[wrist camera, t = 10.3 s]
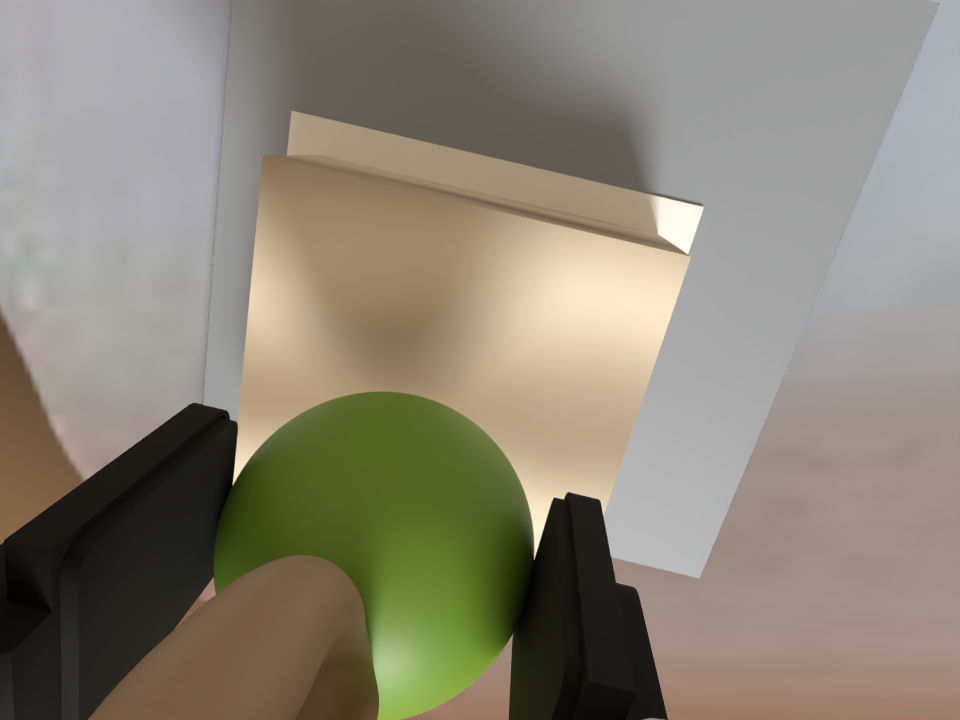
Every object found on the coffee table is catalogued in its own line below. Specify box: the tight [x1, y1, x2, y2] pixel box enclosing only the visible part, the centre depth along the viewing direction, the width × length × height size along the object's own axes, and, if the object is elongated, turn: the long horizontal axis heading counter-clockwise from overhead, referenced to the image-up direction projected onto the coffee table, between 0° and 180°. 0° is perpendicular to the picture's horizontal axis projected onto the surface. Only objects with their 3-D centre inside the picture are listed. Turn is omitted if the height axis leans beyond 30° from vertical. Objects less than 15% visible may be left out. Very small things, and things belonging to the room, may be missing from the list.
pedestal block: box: [233, 155, 691, 559], centre depth 17 cm, size 10×10×4 cm
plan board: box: [203, 0, 940, 578], centre depth 19 cm, size 18×18×1 cm
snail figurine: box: [88, 391, 535, 720], centre depth 8 cm, size 5×6×12 cm
